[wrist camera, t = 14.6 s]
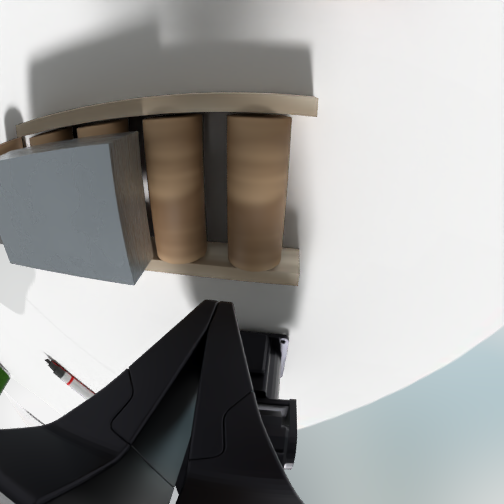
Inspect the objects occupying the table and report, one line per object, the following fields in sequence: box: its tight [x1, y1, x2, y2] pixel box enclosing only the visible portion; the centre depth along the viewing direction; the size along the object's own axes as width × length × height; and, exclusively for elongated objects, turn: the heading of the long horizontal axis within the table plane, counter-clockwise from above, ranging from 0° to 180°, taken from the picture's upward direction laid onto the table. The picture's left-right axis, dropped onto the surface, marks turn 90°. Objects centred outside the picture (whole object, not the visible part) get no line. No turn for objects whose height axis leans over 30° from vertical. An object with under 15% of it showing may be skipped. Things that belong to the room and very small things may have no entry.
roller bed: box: [16, 92, 318, 286], centre depth 18 cm, size 12×21×4 cm, turn 89°
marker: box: [45, 359, 95, 400], centre depth 40 cm, size 15×2×2 cm, turn 36°
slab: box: [0, 131, 154, 285], centre depth 15 cm, size 8×12×3 cm, turn 89°
